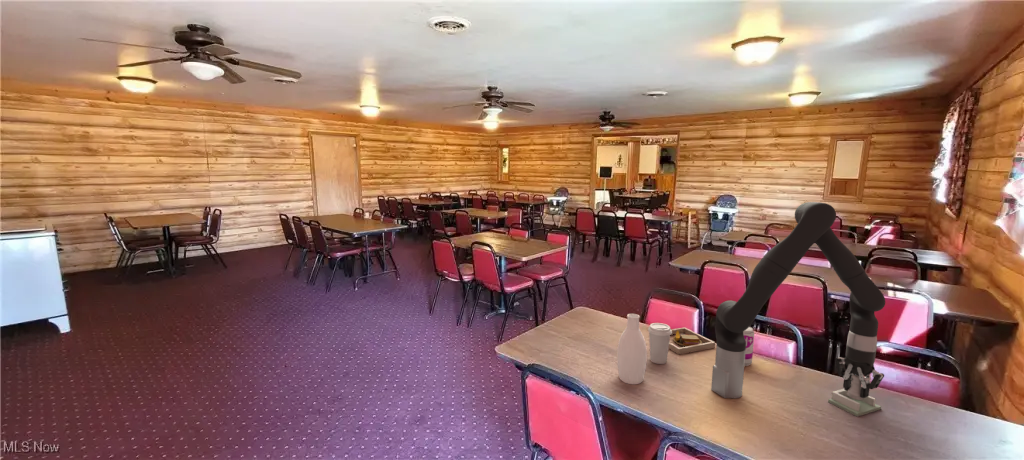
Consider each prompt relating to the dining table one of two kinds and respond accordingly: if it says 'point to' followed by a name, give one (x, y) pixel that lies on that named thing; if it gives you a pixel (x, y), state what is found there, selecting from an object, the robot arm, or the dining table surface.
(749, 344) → the supplement can
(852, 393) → the rook chess piece
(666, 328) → the coffee cup
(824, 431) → the dining table surface
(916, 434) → the dining table surface
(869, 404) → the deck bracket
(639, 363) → the bottle
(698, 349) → the tray rim
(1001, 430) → the dining table surface
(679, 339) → the toy sandwich meal
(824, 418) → the dining table surface
